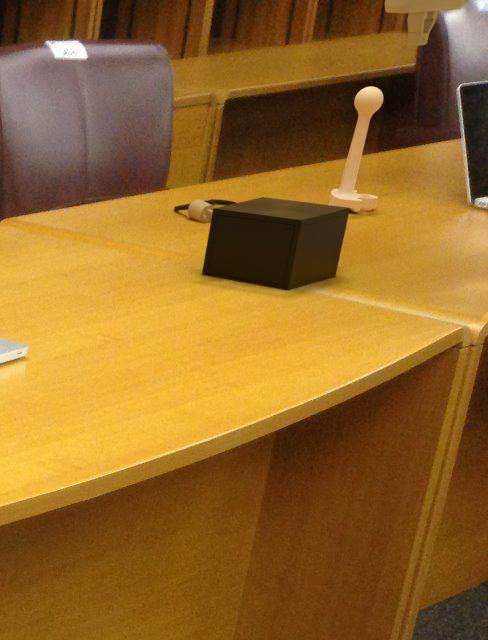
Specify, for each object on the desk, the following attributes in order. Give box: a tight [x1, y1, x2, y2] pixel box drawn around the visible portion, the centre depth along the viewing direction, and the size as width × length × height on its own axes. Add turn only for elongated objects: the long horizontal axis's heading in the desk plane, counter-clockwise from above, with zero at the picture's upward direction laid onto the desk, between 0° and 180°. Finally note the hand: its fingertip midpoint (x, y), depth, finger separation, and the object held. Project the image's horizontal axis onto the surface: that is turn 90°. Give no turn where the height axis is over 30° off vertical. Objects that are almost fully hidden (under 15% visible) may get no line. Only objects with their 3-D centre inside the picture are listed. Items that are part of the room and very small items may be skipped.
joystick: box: [327, 86, 384, 212], centre depth 263 cm, size 11×8×20 cm
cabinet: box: [201, 196, 351, 291], centre depth 214 cm, size 15×13×10 cm
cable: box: [173, 198, 237, 223], centre depth 260 cm, size 16×16×4 cm
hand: (416, 45), depth 223 cm, fingers closed
